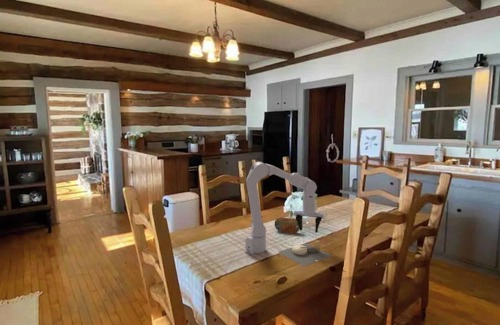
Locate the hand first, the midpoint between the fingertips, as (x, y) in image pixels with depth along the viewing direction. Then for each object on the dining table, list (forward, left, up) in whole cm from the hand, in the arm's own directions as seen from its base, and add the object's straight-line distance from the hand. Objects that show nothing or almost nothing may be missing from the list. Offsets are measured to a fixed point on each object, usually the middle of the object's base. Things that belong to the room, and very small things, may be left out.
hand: (308, 230), depth 149 cm
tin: (+7, +25, -10) cm, 28 cm away
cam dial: (-6, -4, -8) cm, 11 cm away
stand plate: (-8, -5, -9) cm, 13 cm away
